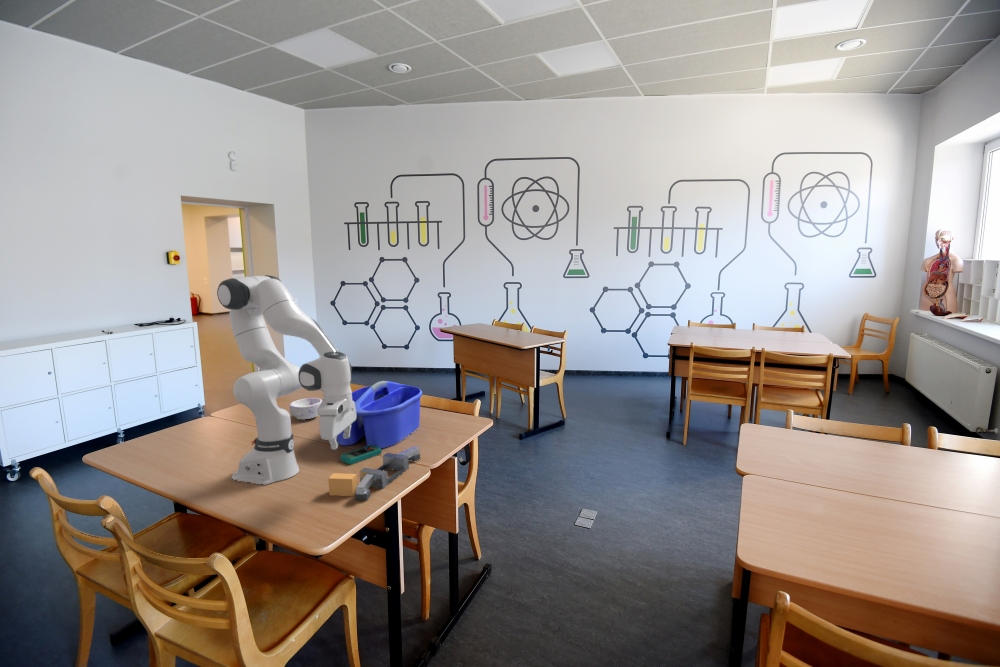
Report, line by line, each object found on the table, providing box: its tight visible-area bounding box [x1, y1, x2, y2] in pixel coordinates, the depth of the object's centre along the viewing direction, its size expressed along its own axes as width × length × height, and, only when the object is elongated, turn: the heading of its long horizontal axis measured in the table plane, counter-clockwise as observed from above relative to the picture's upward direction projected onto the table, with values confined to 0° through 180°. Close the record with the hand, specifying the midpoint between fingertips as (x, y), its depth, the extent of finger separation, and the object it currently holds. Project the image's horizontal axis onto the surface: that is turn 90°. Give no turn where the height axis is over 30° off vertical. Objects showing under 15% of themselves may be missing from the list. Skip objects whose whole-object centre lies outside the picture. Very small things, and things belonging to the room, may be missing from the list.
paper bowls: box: [289, 397, 323, 420], centre depth 246 cm, size 15×15×8 cm
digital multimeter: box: [340, 445, 382, 466], centre depth 197 cm, size 7×15×3 cm, turn 138°
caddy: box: [336, 380, 423, 450], centre depth 221 cm, size 32×45×23 cm
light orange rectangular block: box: [327, 472, 358, 497], centre depth 167 cm, size 8×4×6 cm, turn 85°
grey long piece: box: [354, 445, 421, 501], centre depth 179 cm, size 37×9×5 cm, turn 160°
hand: (340, 443), depth 164 cm, fingers open, 8 cm apart
